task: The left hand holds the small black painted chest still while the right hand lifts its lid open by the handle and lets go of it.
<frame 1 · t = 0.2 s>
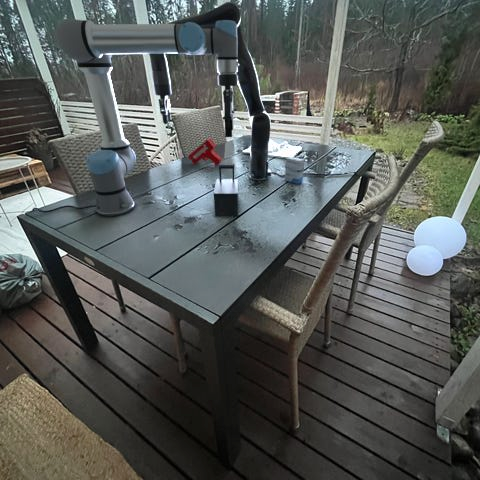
left hand: (229, 133, 113), 28 cm above the table, tool pointing down, fingers open, 13 cm apart
right hand: (167, 122, 130), 29 cm above the table, tool pointing down, fingers open, 8 cm apart
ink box: (293, 181, 143), on the table
relief map: (273, 151, 194), on the table
toy gun: (205, 163, 170), on the table
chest: (227, 208, 117), on the table
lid: (226, 178, 110), point 13 cm above the table, hinge at 0.0°
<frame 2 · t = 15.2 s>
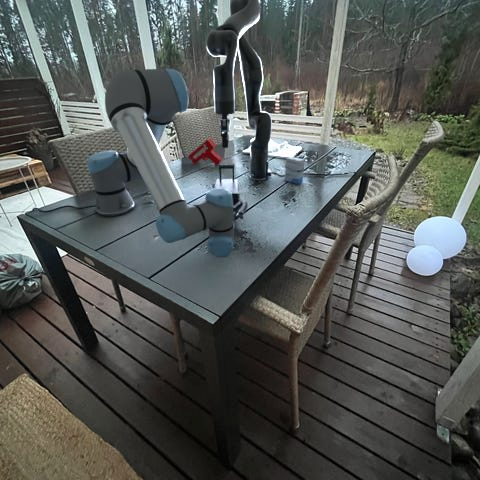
left hand: (226, 196, 110), 7 cm above the table, tool horizontal, fingers closed on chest, 9 cm apart
right hand: (225, 144, 108), 25 cm above the table, tool pointing down, fingers open, 8 cm apart
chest: (227, 208, 117), on the table, touching left hand
everything else where it was.
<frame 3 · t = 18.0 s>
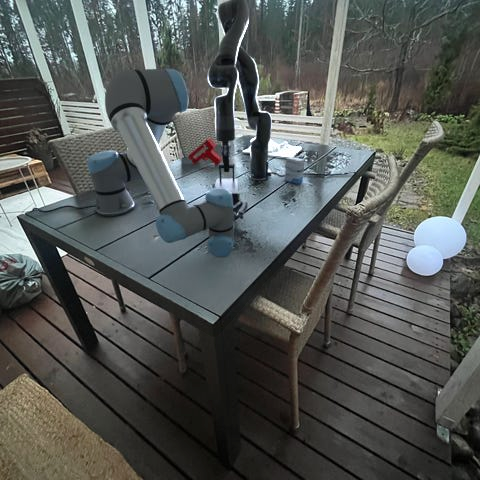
left hand: (226, 196, 110), 7 cm above the table, tool horizontal, fingers closed on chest, 9 cm apart
right hand: (226, 170, 113), 15 cm above the table, tool pointing down, fingers closed on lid
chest: (227, 208, 117), on the table, touching left hand
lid: (226, 178, 110), point 13 cm above the table, hinge at 0.7°, touching right hand
everything else where it was.
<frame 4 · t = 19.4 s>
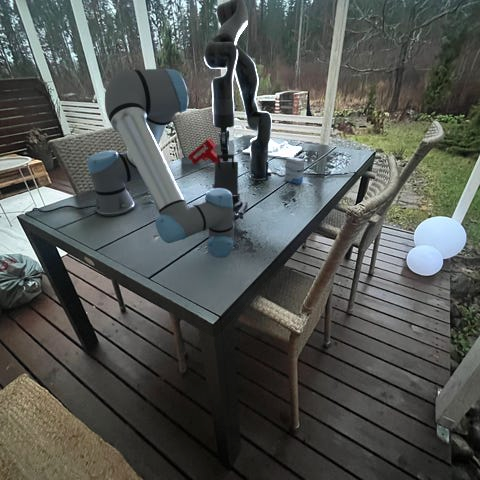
left hand: (226, 196, 110), 7 cm above the table, tool horizontal, fingers closed on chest, 9 cm apart
right hand: (225, 160, 105), 21 cm above the table, tool pointing down, fingers closed on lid
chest: (227, 208, 117), on the table, touching left hand
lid: (225, 172, 105), point 17 cm above the table, hinge at 32.2°, touching right hand
everything else where it was.
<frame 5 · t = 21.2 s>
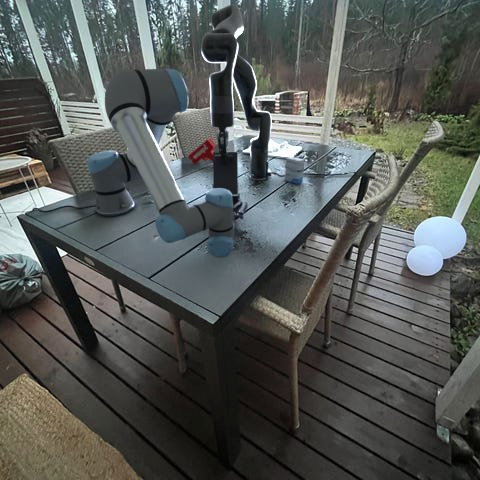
left hand: (226, 196, 110), 7 cm above the table, tool horizontal, fingers closed on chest, 9 cm apart
right hand: (224, 162, 97), 22 cm above the table, tool pointing down, fingers open, 3 cm apart
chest: (227, 208, 117), on the table, touching left hand
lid: (224, 172, 100), point 18 cm above the table, hinge at 65.9°
everything else where it was.
when the left hand's fingers open (7 cm above the table, at t = 25.0 s): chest stays where it is, on the table.
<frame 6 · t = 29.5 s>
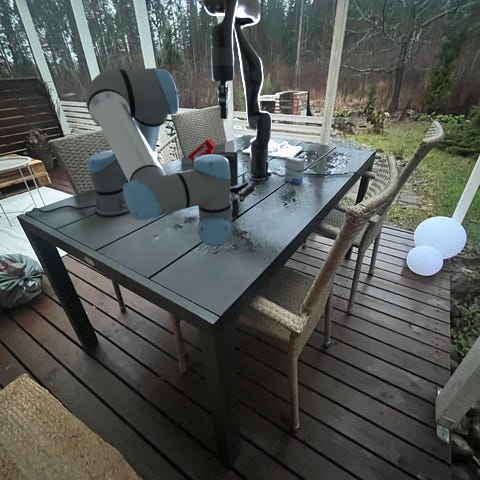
left hand: (223, 178, 91), 20 cm above the table, tool horizontal, fingers open, 13 cm apart
right hand: (224, 117, 99), 36 cm above the table, tool pointing down, fingers open, 8 cm apart
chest: (227, 208, 117), on the table
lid: (224, 172, 101), point 18 cm above the table, hinge at 65.2°
everything else where it was.
at the end: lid at +65° (first picture: +0°); the left hand is holding nothing; the right hand is holding nothing; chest tilted 0°; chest never tilted more than 1° during the clip; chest moved 0.1 cm from its start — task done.
